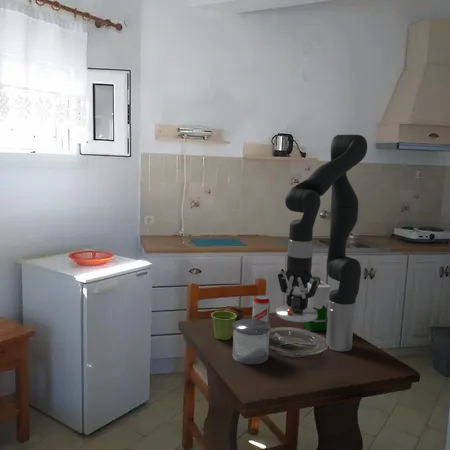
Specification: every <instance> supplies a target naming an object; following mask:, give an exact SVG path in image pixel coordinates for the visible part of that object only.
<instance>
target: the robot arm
mask: <svg viewBox="0 0 450 450" xmlns="http://www.w3.org/2000/svg"><path fill="white" fill-rule="evenodd" d="M367 152H368V142H367V139H366V138H365V136H363V135H362V134H361V135H360V134H336V135H334V137H333V138H332V141H331V142H330V161H327V162H326V163H323V164H322V165H320V166H319V167H318V168H316V169H315V170H314V171H313V172H312V173H311V174H310V175H309V177H308V178H307V179H305V180H302V181H301V182H299V183H297V184H296V185H294V186H293V187H292V188H291V189H289V191H288V192H287V194H286V196H285V200H284V202H285V207H286V208H287V209H288V210H289V211H291V212H293V213H294V212H295V213H301V214H302V213H303V215H302V217H301V218H300V219H293V220H292V221H290V223H289V231H288V232H289V237H288V244H287V251H286V252H287V257H286V271H285V272H279V273H278V274H277V279H278V283H279V287H280V291H281V292H282V293H283V294H284V293H285V294H286V305H288V307H290V305H291V295H292V294H294V291H295V289H296V287H298V288H299V291H300V293H301V295H302V300H301V310H305V309H306V308H307V307H308V298H311V297H313V296H314V295H315V293H316V290H317V288H318V285H319V283H320V281H321V279H320V280H319V279H315V278H313V277H314V276H313V275H312V262H313V260H312V259H313V232H314V225H315V223H316V220H317V219H316V218H317V216H318V213H319V211H320V207H321V197H322V196H324V195H325V194H326V193H327V192H328V191H329V189H330V188H331V196H330V197H331V199H330V227H329V228H330V229H329V243H328V250H327V251H328V252H327V257H326V259H327V260H326V273H327V276H328V277H329V278H331V279H332V280H335V281H337V282H339V284H338V289H332V290H330V291H329V296H328V309H327V330H326V332H325V333H326V335H325V345H326V344H327V345H328V346H329V348H328V349H329V350H332V351H336V352H349V351H351V350H352V348H353V337H354V336H353V335H354V324H355V313H356V299H357V296H358V294H359V291H360V284H361V283H360V282H361V277H362V276H361V275H362V266H361V264H360V261H359V260H358V259H356V258H353V257H350V256H347V253H346V252H347V251H346V248H347V242H348V238H349V236H350V235H351V233H352V232H353V230H354V228H355V226H356V224H357V222H358V219H359V218H358V217H359V216H358V215H359V199H358V197H357V194H356V191H355V190H354V189H353V186H352V185H351V182H350V181H349V179H348V174H347V172H348V171H350V170H351V169H352V168H353V167H355V166H356V165H358V164H359V163H360V162H361V161H363V160H364V158H365V157H366V154H367ZM287 281H288V282H287ZM310 281H311V285H312V286H311V288H310V291H309V292H308V282H310Z"/></svg>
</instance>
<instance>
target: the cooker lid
mask: <svg viewBox="0 0 450 450" xmlns="http://www.w3.org/2000/svg"><path fill="white" fill-rule="evenodd" d="M301 300H302V294H299V293H292V295H291V305H290V307H288V305H287V304H285V305H280V306H277V307H276V308H275V316H276V317H277V318H279V319H281V320H283V321H287V322H293V323H303V322H310V321H314V320H316V319H317V317H318V312H317V311H316V310H315V309H313V308H310V307H307V308H306V309H305V310H301Z"/></svg>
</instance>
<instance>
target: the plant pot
mask: <svg viewBox="0 0 450 450" xmlns="http://www.w3.org/2000/svg"><path fill="white" fill-rule="evenodd" d="M210 316H211V318H212V322H213V324H212V325H213V333H214V338H215V340H222V341H228V340H230V339H231V338H232V335H233V331H234V328H233V323H234V321H235V318H236V317H237V315H236V314H235V313H232V312H228V311H223V310H216V311H214V312H211V315H210Z"/></svg>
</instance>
